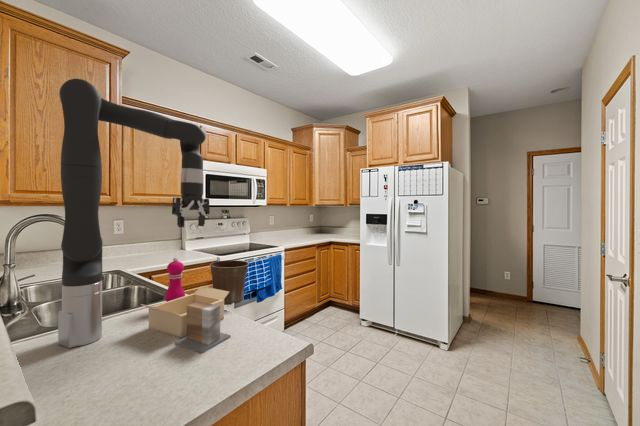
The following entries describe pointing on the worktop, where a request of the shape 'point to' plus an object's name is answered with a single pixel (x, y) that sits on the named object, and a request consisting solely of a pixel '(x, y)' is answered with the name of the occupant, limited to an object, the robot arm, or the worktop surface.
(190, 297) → the carton
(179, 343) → the plate
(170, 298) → the pepper mill
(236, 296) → the plant pot
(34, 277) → the worktop surface
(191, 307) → the block
